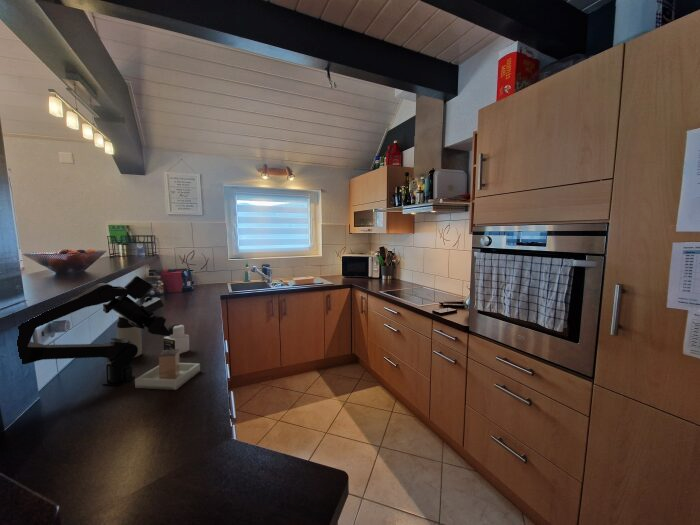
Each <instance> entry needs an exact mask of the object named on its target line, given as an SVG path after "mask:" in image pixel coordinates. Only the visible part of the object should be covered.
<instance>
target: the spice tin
mask: <svg viewBox="0 0 700 525" xmlns="http://www.w3.org/2000/svg"><path fill="white" fill-rule="evenodd" d="M179 363H180V354H179V349H172V350H164V349H163V350H162V351H161V352H160V353H159V355H158V365H159V379H176V378H177V376H178V375H179Z"/></svg>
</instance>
